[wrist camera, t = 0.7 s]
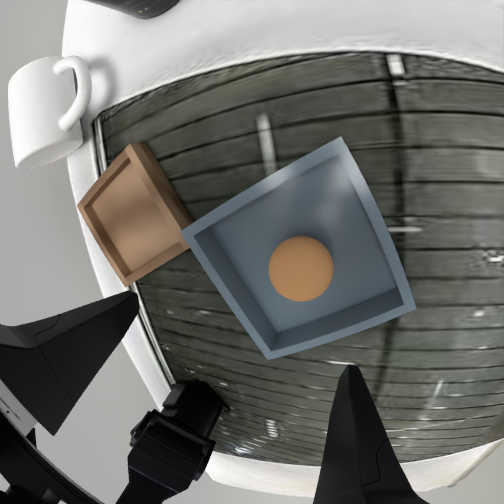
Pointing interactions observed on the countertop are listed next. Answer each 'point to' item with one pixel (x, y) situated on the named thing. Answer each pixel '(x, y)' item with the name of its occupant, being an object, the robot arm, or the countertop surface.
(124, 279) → the tray
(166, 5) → the supplement bottle
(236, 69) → the countertop surface
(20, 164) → the mug
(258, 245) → the dish
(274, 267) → the ball
